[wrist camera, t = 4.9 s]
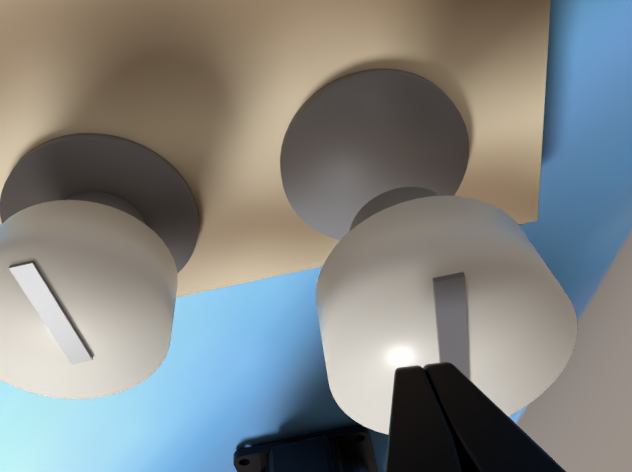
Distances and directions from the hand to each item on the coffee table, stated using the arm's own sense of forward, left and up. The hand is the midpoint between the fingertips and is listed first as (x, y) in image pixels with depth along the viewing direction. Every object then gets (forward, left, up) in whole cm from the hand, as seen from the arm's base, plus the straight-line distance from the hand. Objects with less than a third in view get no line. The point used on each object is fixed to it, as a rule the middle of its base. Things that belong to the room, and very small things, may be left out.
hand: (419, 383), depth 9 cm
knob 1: (-1, +7, -9) cm, 11 cm away
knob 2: (-1, -1, -6) cm, 6 cm away
